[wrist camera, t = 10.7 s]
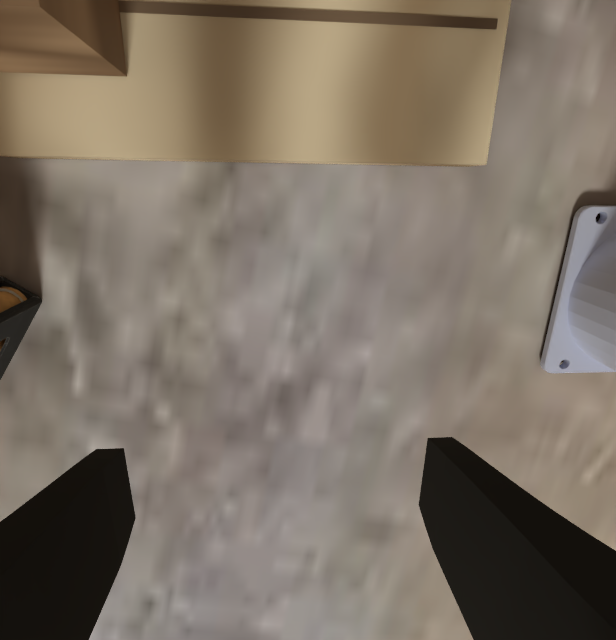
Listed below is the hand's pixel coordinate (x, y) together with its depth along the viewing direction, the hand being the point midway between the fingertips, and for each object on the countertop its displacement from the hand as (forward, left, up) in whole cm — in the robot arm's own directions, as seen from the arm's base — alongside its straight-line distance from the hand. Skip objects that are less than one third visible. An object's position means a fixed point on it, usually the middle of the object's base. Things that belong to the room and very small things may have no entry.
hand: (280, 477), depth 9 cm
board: (+1, -12, -9) cm, 15 cm away
